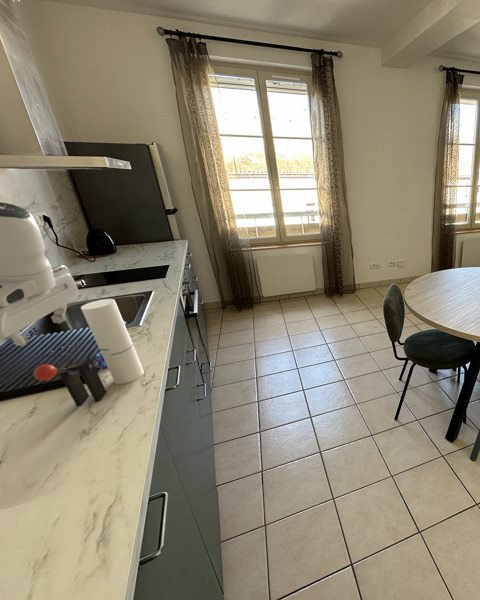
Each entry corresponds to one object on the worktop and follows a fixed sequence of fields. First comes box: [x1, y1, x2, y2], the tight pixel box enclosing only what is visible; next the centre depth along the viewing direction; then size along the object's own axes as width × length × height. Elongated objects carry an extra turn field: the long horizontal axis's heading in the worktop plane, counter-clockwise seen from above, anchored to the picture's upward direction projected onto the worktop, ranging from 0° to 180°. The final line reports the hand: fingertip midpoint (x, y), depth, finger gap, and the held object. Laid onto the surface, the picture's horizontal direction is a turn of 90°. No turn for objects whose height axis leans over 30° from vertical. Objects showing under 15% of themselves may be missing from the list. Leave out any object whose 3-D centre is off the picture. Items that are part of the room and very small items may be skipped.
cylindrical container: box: [80, 298, 145, 385], centre depth 94 cm, size 7×7×25 cm
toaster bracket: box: [58, 356, 107, 408], centre depth 87 cm, size 12×9×13 cm
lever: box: [33, 363, 81, 382], centre depth 80 cm, size 14×4×4 cm, turn 19°
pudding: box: [94, 350, 108, 370], centre depth 106 cm, size 12×12×5 cm
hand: (42, 332), depth 77 cm, fingers open, 8 cm apart
